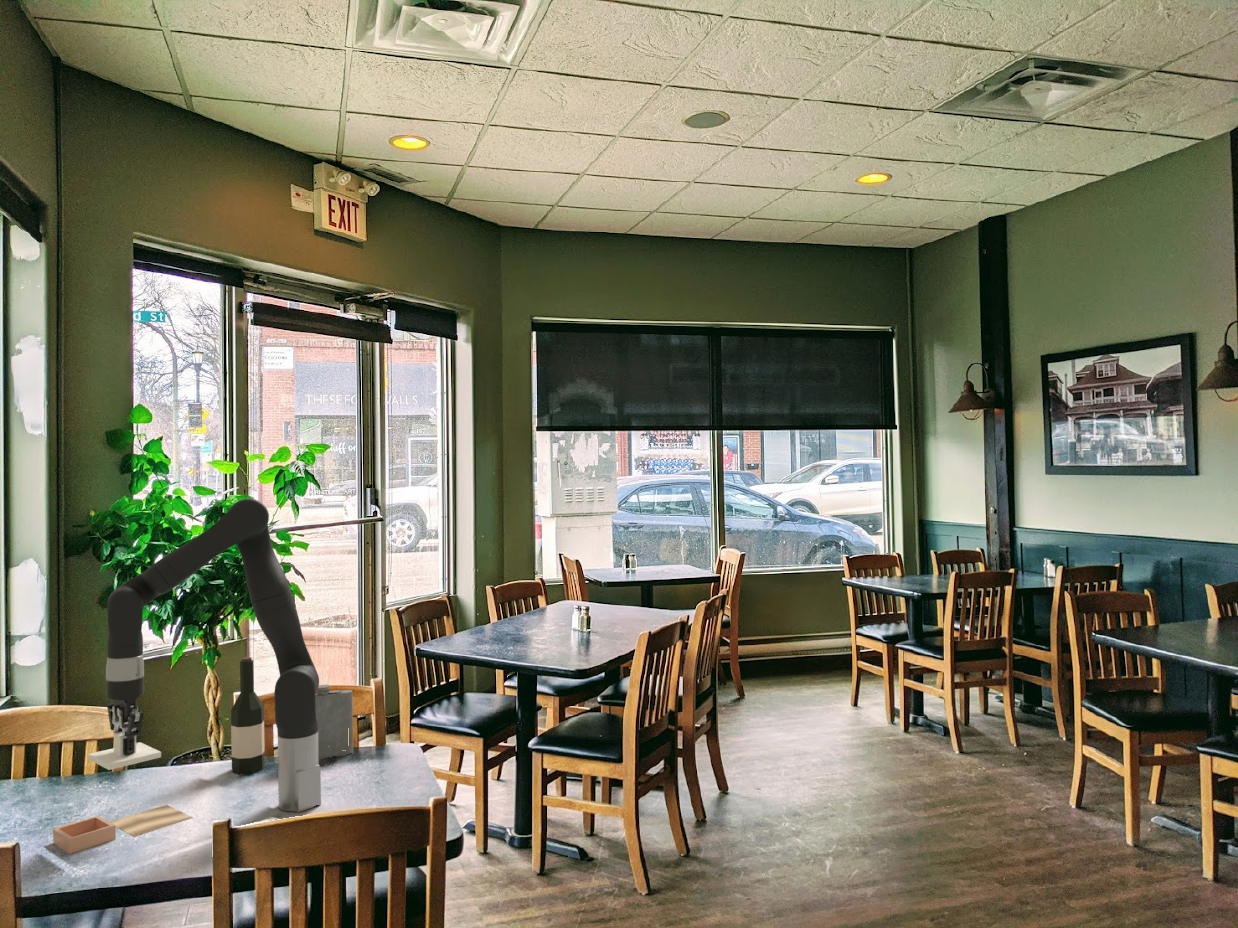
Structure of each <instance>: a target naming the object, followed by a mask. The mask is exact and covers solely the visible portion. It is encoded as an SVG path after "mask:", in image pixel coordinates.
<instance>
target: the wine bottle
mask: <svg viewBox="0 0 1238 928" xmlns="http://www.w3.org/2000/svg"><path fill="white" fill-rule="evenodd" d="M254 665H255V664H254V660H253V659H252V657H250V656H246V657H242V658H241V660H240V662H239V673H240V674H239V679H240V680H239V685H240V687H239V688H240V690H239V694H238V697H237V698H236V700H235V702H234V704H233V705H232V708H231V709H230V729H231V731H230V734H231V735H230V737H231V738H230V739H231V740H230V742H231V744H230V746H231V773H232V774H233V773H234V774H236V775H247V774H248V775H249V774H251V773H252V774H254V772H255V773H257V772H260V771H261V772H262V771H263V770H264V769H265V765H266V764H265V763H266V762H265V761H266V759H265V757H266V756H265V755H266V754H265V750H266V749H265V707H264V705H265V704H264V703H263V702H262V701H261V699H260V697H259V696H258V695H257V693H256V692H255V685H254V684H255V683H254V681H255V680H254V678H255V676H254V675H255V674H254V673H255V672H254V667H255V666H254Z"/></svg>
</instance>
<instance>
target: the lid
mask: <svg viewBox="0 0 1238 928" xmlns="http://www.w3.org/2000/svg"><path fill="white" fill-rule="evenodd" d="M159 758H162V751H160V750H158V749H156V748H153V747H151V746H150V745H147V744H145V743H143V742H141V741H140V742H137V736H135V751H134V753H133V754H130V755H124V754H123V733H122V732H117V733H114V732H113V748H110V749H108V748H107V749H105V750H100V751H95V752H91V753H88V760H89V761H90V762H92V763H95V764H97V765H99V766H101V767H102V768H104V769H106V770H108V771H110V770H115V769H119V768H122V767H123V768H124V767H127V766H131V765H135V764H139V763H143V762H147V761H152V760H155V759H159Z"/></svg>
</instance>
